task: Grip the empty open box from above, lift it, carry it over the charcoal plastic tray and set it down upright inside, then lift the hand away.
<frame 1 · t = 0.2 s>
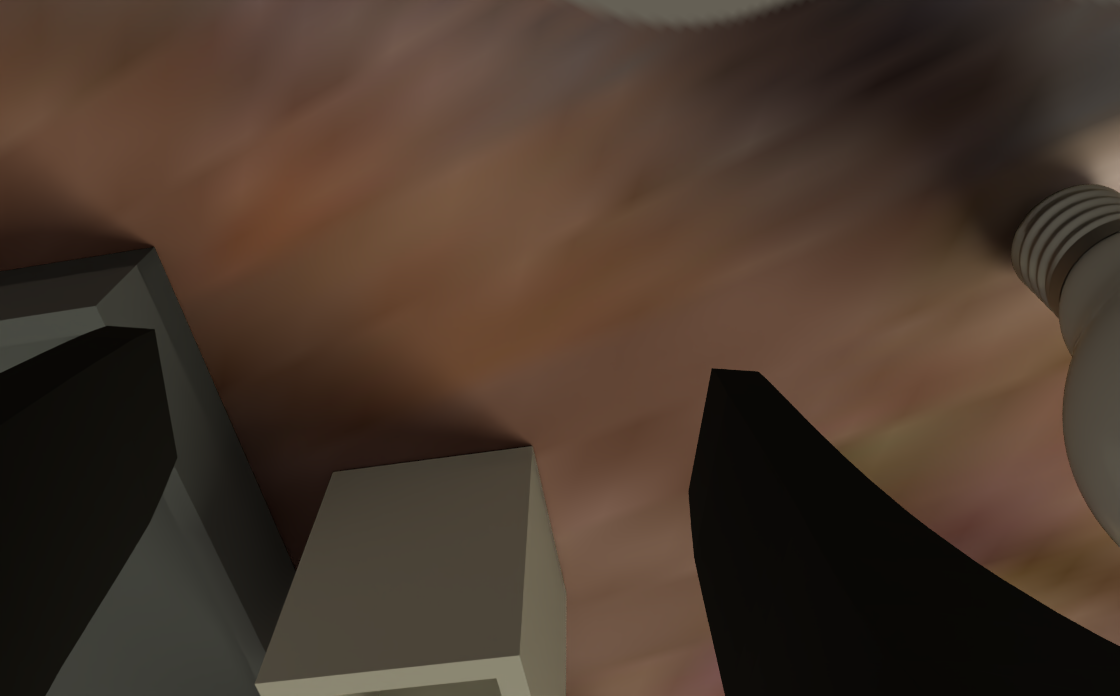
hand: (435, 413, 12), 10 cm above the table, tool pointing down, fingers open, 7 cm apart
lightbulb: (1054, 225, 21), on the table
tray: (20, 562, 26), on the table
open box: (454, 535, 25), on the table
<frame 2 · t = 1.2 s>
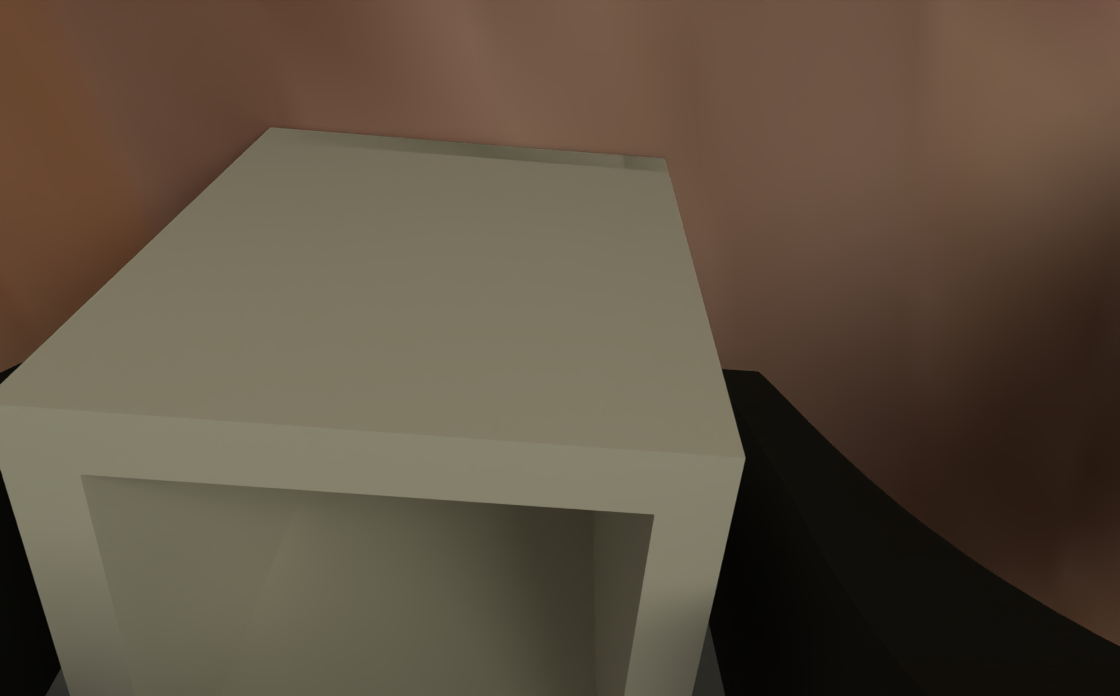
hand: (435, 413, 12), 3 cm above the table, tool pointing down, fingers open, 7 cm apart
open box: (464, 316, 14), on the table
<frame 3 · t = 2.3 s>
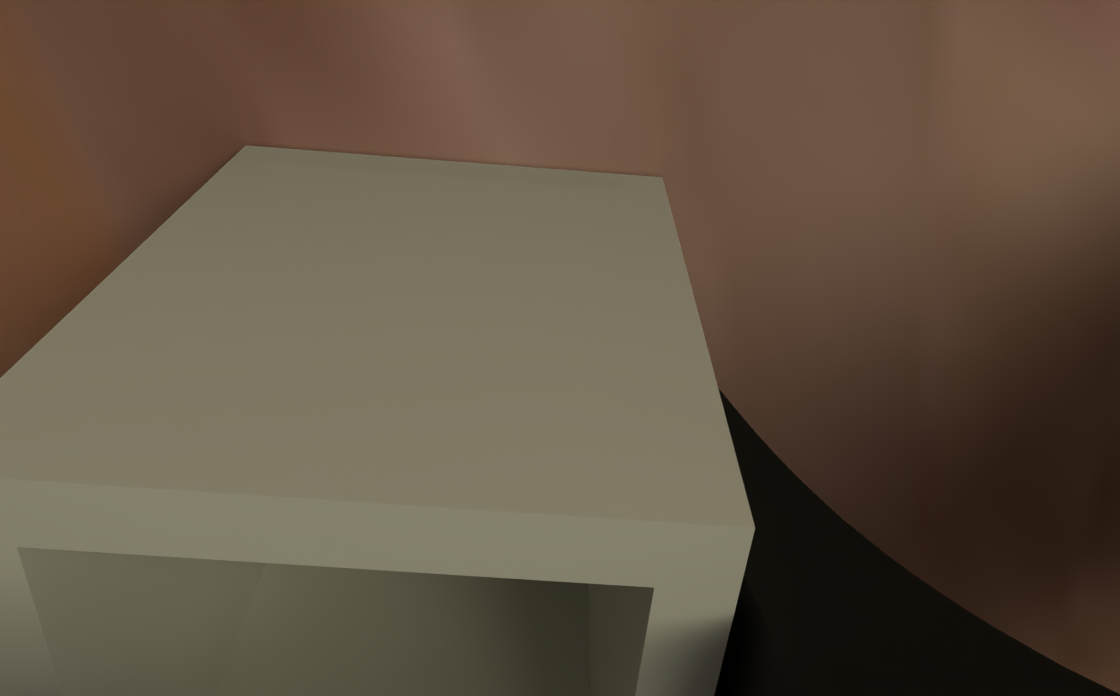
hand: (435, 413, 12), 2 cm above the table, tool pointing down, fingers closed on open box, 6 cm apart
open box: (452, 341, 13), on the table, touching gripper
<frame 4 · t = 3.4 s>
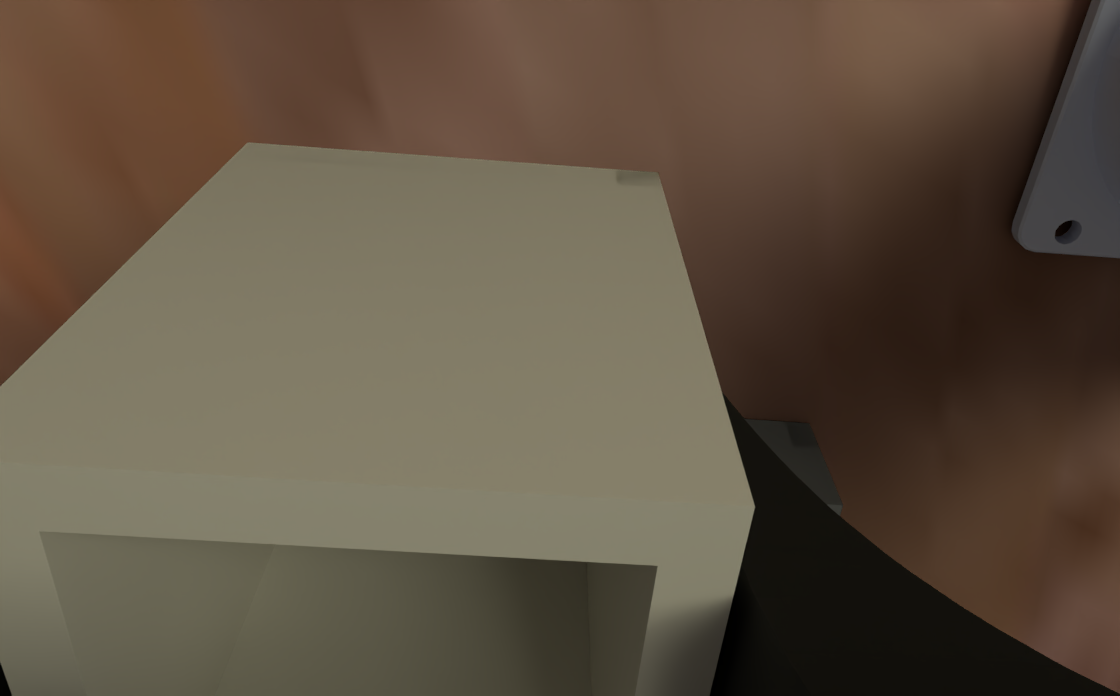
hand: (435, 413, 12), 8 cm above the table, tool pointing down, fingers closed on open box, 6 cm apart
tray: (432, 634, 25), on the table
open box: (451, 335, 13), point 6 cm above the table, touching gripper
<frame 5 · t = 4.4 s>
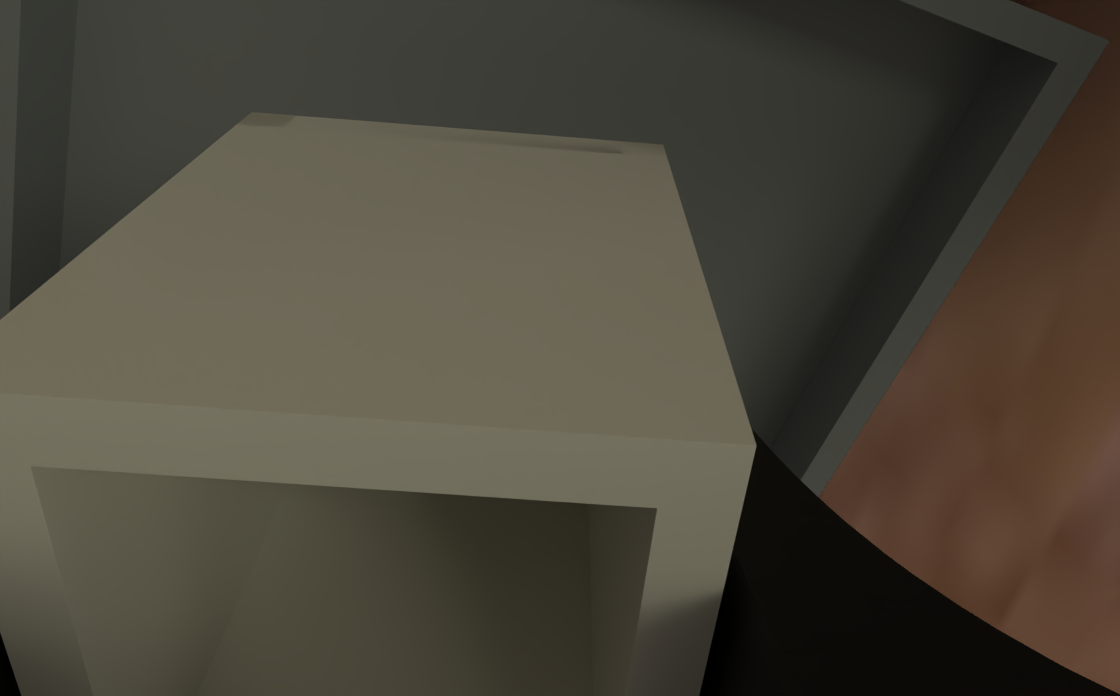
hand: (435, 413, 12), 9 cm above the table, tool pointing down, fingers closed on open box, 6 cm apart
tray: (477, 225, 20), on the table
open box: (455, 310, 13), point 7 cm above the table, touching gripper
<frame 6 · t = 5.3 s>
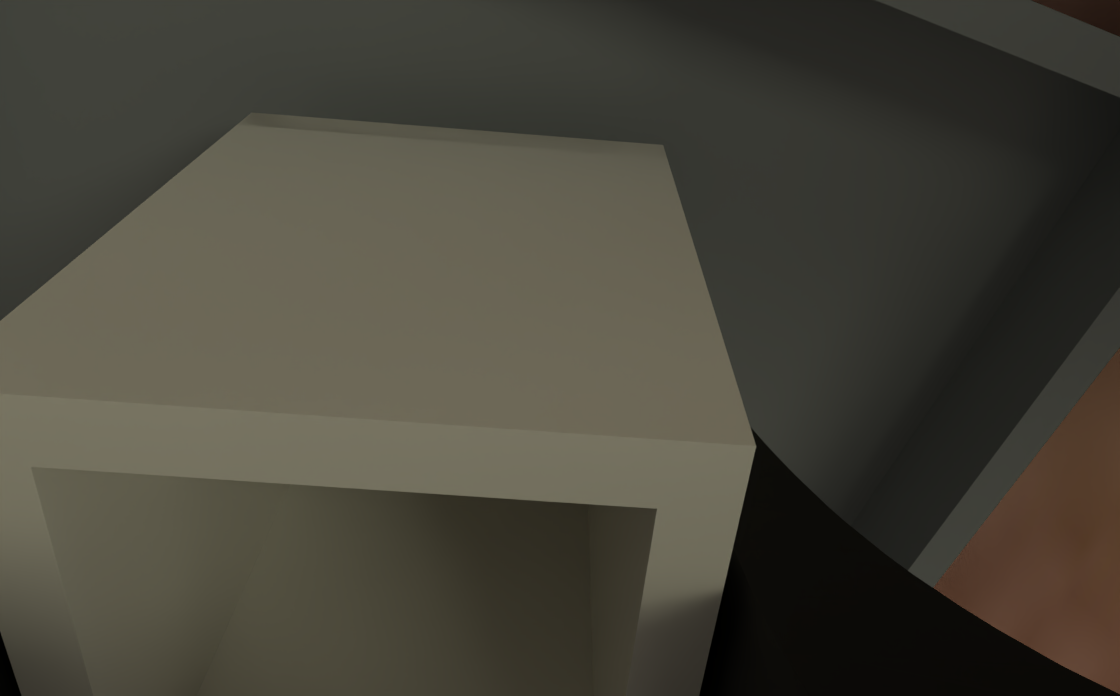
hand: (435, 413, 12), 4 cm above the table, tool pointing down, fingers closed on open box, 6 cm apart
tray: (453, 318, 16), on the table
open box: (455, 311, 13), point 2 cm above the table, touching gripper
when the fingers open (4 cm above the table, at t = 6.2 s): open box drops 1 cm, resting on tray.
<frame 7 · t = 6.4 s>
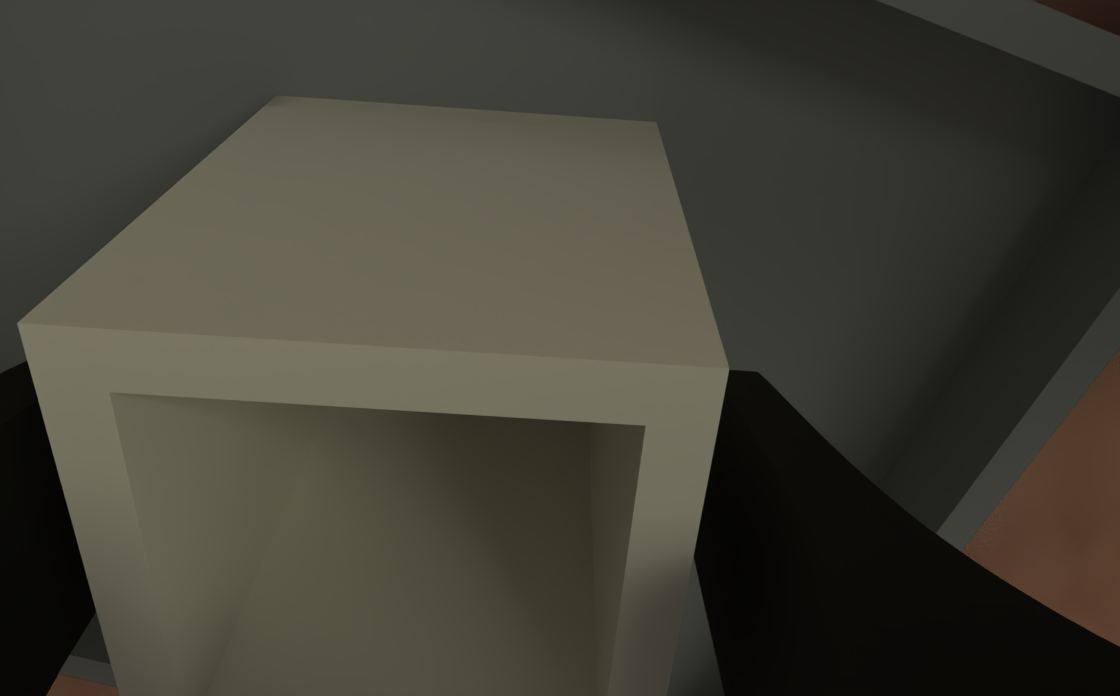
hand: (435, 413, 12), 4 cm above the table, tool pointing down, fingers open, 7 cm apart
tray: (453, 318, 16), on the table
open box: (464, 279, 14), point 1 cm above the table, touching tray
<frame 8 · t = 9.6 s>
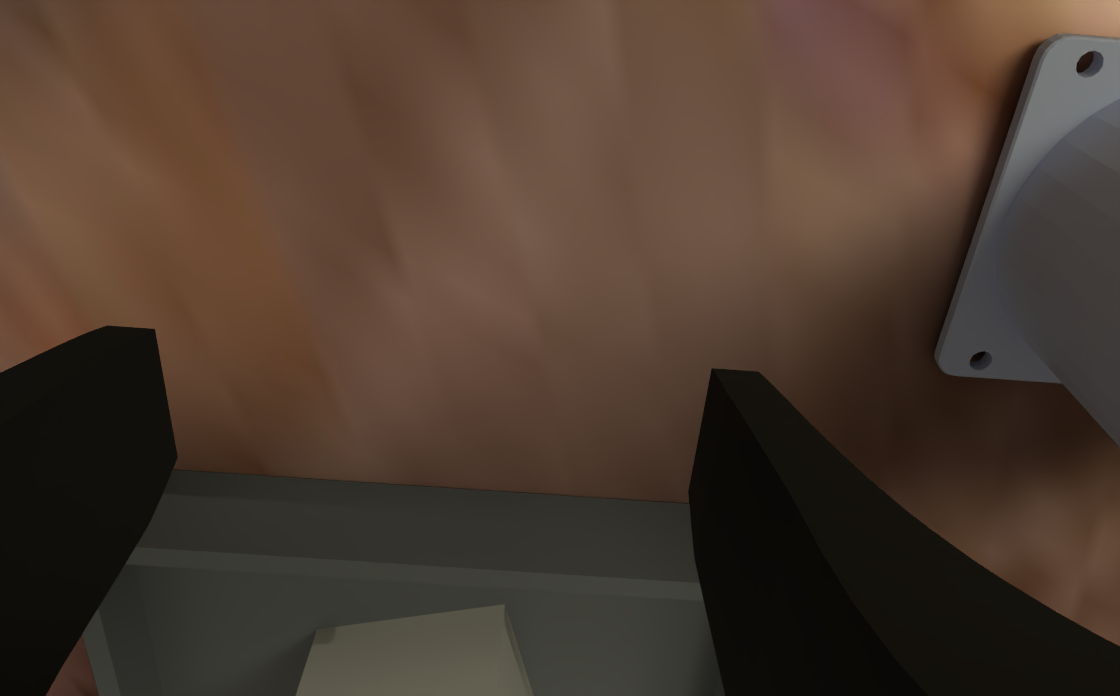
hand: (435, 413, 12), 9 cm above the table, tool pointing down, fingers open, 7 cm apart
tray: (441, 683, 28), on the table
open box: (435, 681, 27), point 1 cm above the table, touching tray
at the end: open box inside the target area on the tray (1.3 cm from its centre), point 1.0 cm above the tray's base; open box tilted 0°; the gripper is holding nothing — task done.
